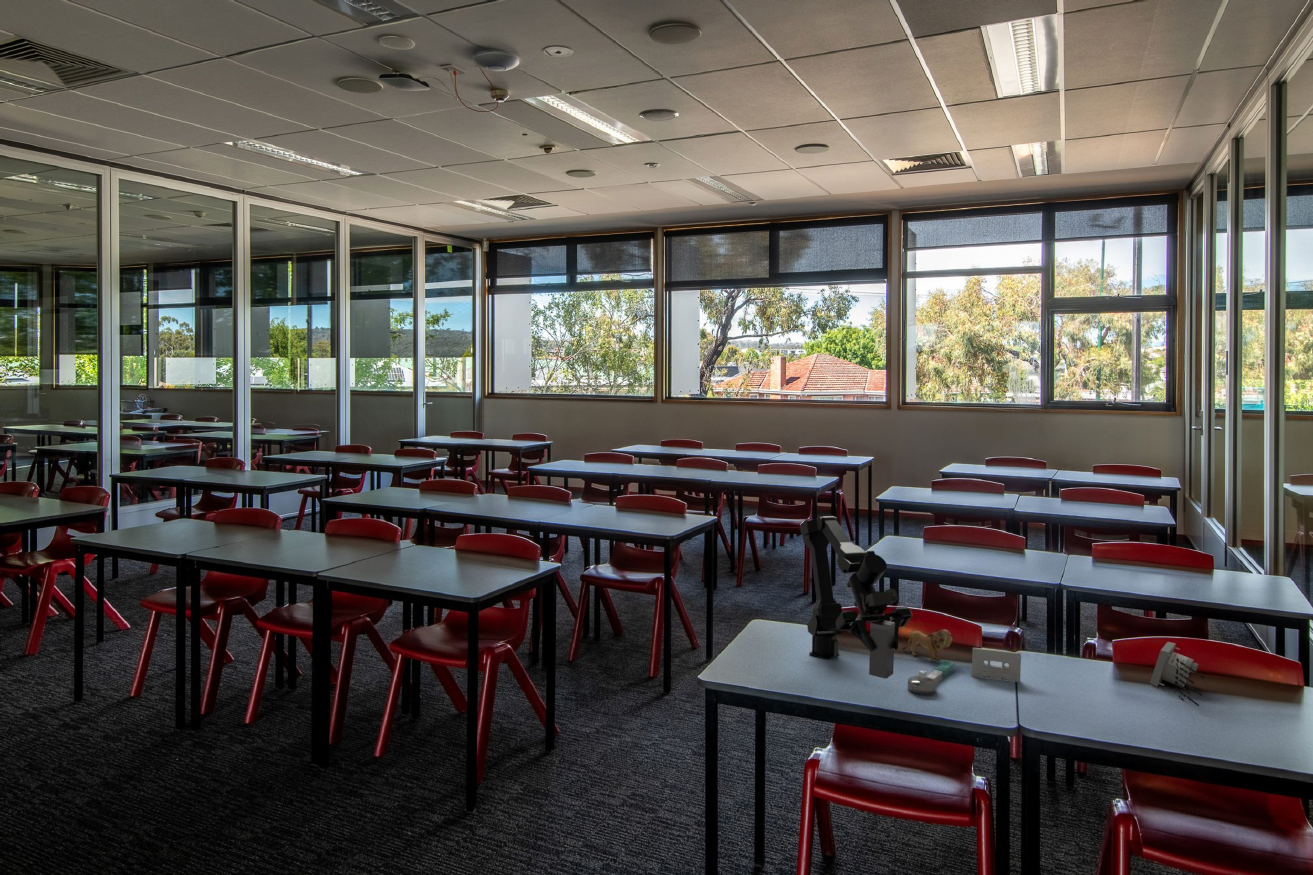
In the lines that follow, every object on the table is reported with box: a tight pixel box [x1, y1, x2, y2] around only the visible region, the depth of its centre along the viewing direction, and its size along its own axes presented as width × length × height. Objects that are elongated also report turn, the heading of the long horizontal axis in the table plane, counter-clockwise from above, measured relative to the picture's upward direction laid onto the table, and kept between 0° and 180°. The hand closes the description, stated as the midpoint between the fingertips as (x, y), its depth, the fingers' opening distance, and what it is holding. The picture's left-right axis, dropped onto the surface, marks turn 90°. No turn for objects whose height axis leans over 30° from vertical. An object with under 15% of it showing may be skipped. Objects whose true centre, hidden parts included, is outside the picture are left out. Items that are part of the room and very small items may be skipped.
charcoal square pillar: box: [868, 619, 895, 680], centre depth 204 cm, size 4×4×13 cm
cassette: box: [970, 647, 1022, 683], centre depth 220 cm, size 12×2×8 cm, turn 69°
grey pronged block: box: [1149, 641, 1205, 707], centre depth 210 cm, size 27×11×10 cm, turn 174°
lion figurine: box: [901, 629, 953, 662], centre depth 237 cm, size 15×5×9 cm, turn 47°
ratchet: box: [907, 660, 955, 697], centre depth 218 cm, size 7×24×5 cm, turn 142°
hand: (884, 649), depth 203 cm, fingers closed on charcoal square pillar, 6 cm apart
